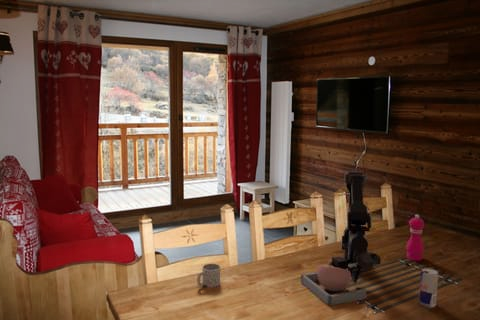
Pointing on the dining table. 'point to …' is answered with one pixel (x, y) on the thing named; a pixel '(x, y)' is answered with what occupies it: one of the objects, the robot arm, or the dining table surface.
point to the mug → (210, 275)
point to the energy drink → (428, 287)
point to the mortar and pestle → (333, 277)
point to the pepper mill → (415, 239)
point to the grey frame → (324, 296)
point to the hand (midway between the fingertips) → (354, 282)
